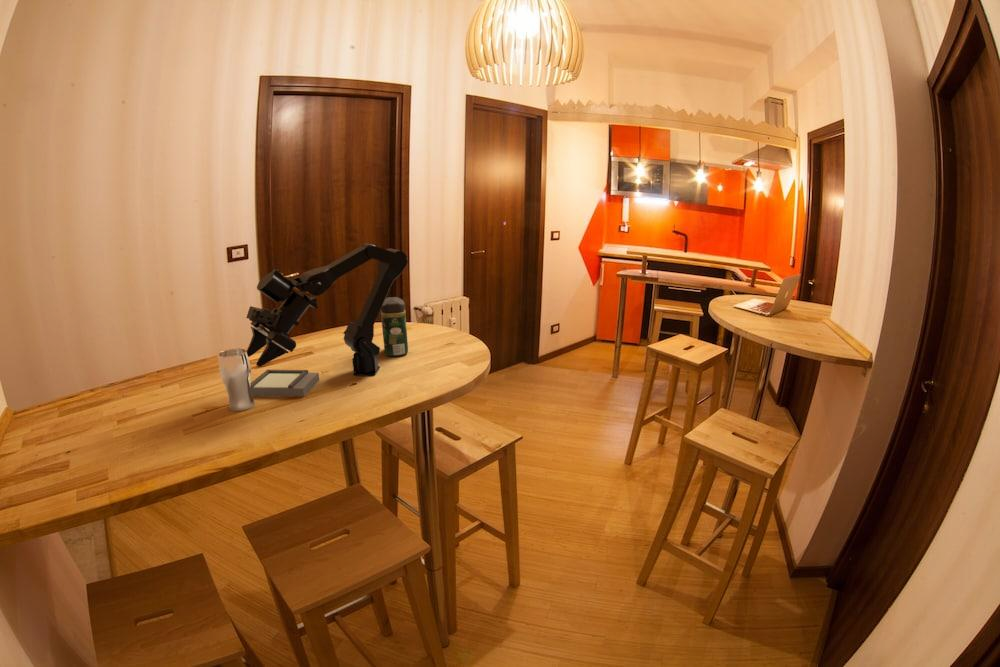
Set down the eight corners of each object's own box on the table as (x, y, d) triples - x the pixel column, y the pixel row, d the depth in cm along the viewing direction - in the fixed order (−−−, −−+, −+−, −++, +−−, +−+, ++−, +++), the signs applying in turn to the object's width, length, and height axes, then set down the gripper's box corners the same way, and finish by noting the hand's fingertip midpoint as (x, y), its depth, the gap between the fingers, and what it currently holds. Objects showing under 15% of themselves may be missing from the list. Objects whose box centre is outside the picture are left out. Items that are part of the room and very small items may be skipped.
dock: (319, 380, 147) (318, 370, 146) (304, 396, 137) (302, 385, 136) (269, 380, 148) (267, 369, 147) (250, 396, 137) (248, 385, 136)
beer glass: (261, 400, 135) (252, 347, 130) (249, 412, 128) (239, 357, 124) (234, 400, 135) (224, 348, 130) (222, 412, 128) (211, 357, 123)
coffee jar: (384, 348, 173) (379, 296, 167) (407, 346, 175) (403, 294, 169) (384, 358, 164) (379, 303, 158) (409, 356, 166) (405, 301, 160)
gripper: (253, 288, 135) (215, 335, 132) (276, 301, 122) (234, 354, 118) (287, 311, 143) (251, 357, 139) (312, 326, 129) (274, 377, 126)
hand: (252, 360), depth 130 cm, fingers open, 9 cm apart
